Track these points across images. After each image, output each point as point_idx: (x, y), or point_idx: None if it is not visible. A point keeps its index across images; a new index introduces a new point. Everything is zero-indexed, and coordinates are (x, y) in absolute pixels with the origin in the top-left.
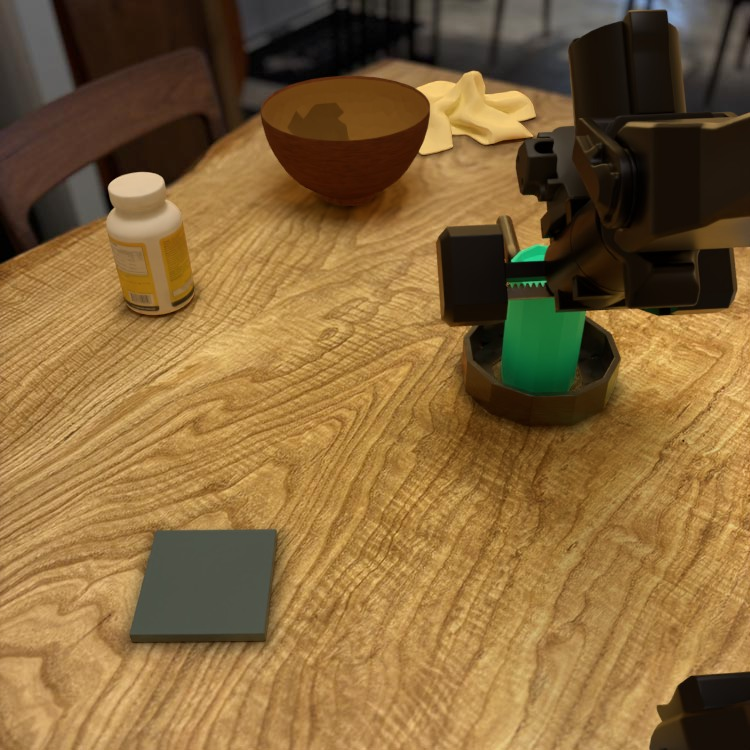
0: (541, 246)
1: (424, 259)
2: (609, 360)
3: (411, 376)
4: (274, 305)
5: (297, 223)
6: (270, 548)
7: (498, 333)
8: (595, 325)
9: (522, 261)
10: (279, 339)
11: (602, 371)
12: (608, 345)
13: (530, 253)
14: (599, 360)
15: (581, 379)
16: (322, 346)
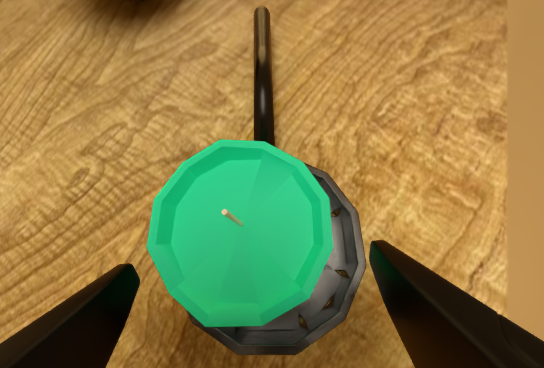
0: (230, 145)
1: (189, 65)
2: (350, 247)
3: (141, 244)
4: (42, 137)
5: (91, 26)
6: None
7: None
8: (339, 195)
9: (190, 185)
10: (33, 187)
11: (341, 240)
12: (352, 232)
13: (207, 163)
14: (340, 220)
15: None
16: (68, 196)
